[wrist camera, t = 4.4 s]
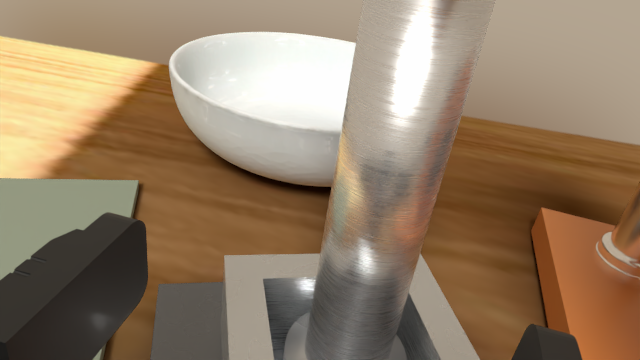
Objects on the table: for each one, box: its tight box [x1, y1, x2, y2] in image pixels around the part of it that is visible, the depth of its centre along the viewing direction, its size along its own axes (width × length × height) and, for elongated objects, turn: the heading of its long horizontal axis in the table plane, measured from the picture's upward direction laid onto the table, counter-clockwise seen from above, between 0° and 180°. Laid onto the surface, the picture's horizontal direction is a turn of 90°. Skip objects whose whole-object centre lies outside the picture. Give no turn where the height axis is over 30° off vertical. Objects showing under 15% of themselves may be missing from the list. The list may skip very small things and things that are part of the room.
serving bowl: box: [169, 32, 356, 187], centre depth 38 cm, size 21×21×7 cm
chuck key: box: [283, 0, 495, 360], centre depth 15 cm, size 7×4×18 cm, turn 11°
